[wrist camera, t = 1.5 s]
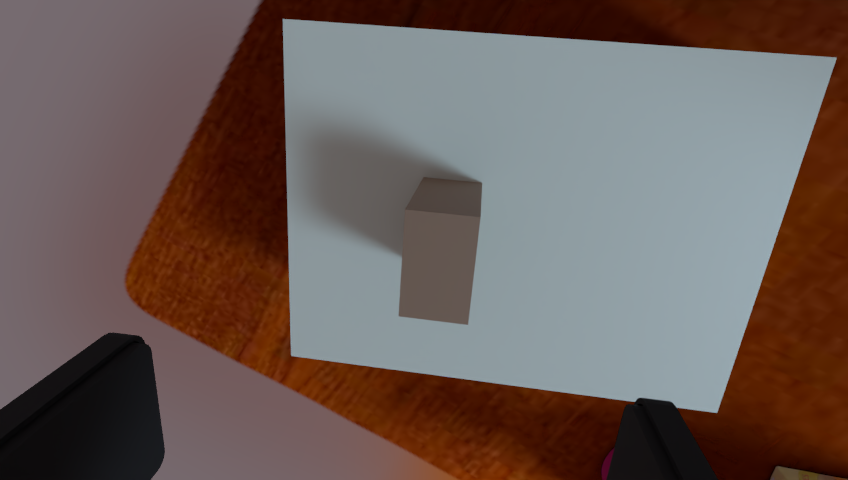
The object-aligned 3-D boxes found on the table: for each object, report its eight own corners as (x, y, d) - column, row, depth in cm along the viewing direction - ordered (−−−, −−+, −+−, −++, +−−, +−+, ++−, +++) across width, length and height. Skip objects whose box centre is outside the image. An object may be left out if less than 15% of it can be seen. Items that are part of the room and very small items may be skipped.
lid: (822, 57, 18) (962, 55, 13) (709, 401, 24) (775, 502, 18) (290, 20, 20) (217, 4, 15) (296, 347, 26) (245, 423, 20)
